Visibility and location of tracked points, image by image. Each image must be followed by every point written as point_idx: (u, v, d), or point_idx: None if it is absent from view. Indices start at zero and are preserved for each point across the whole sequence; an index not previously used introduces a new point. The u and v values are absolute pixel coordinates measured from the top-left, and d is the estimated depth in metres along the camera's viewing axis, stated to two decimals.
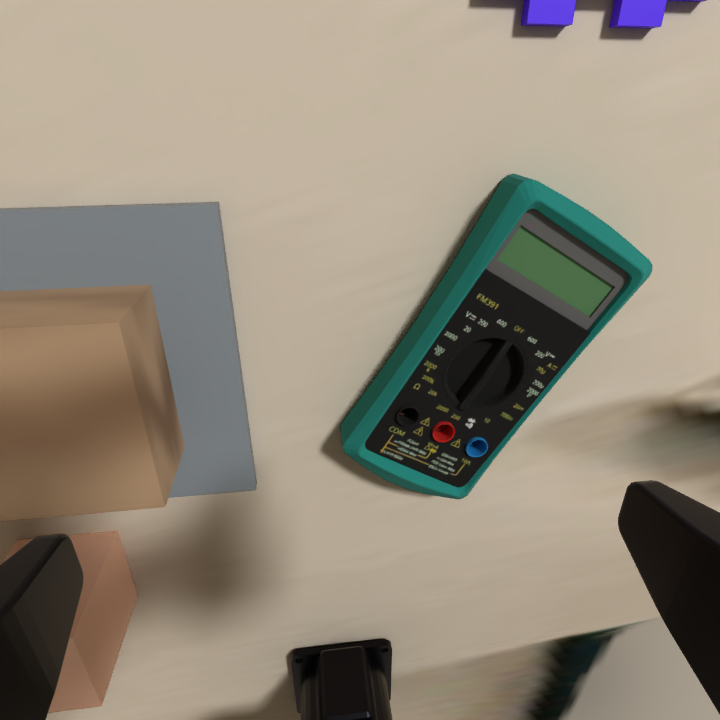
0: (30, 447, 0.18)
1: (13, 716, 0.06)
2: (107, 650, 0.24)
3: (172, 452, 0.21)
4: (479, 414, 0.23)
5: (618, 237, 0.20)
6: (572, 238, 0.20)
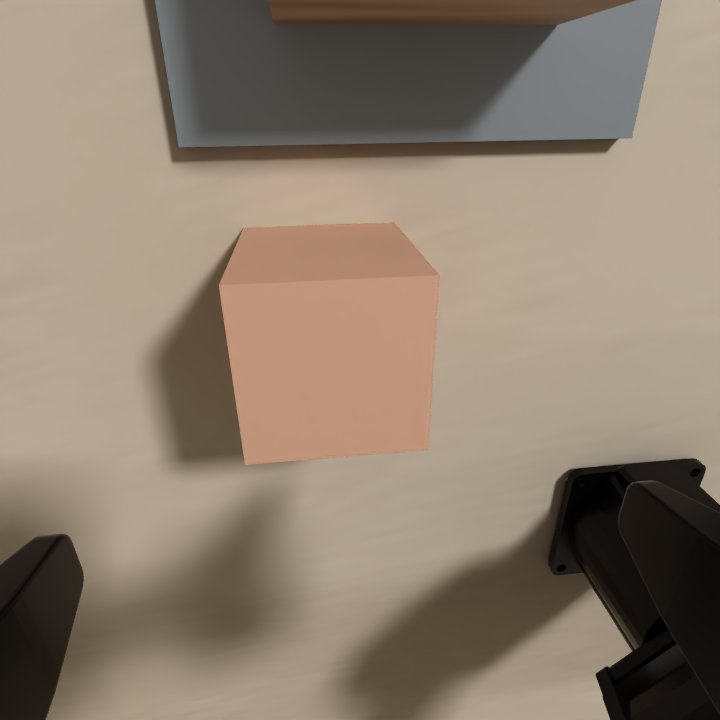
0: None
1: (13, 716, 0.06)
2: None
3: None
4: None
5: None
6: None
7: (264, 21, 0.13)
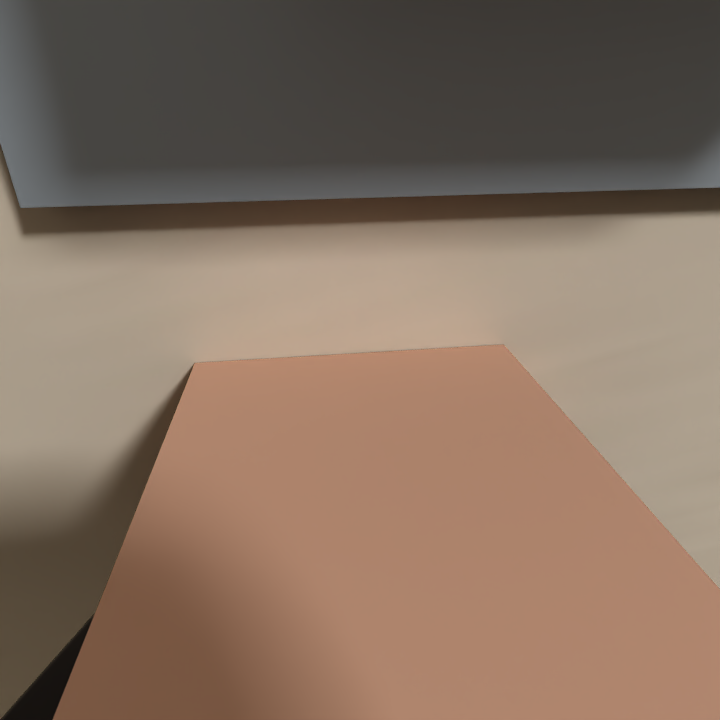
0: None
1: None
2: None
3: None
4: None
5: None
6: None
7: None
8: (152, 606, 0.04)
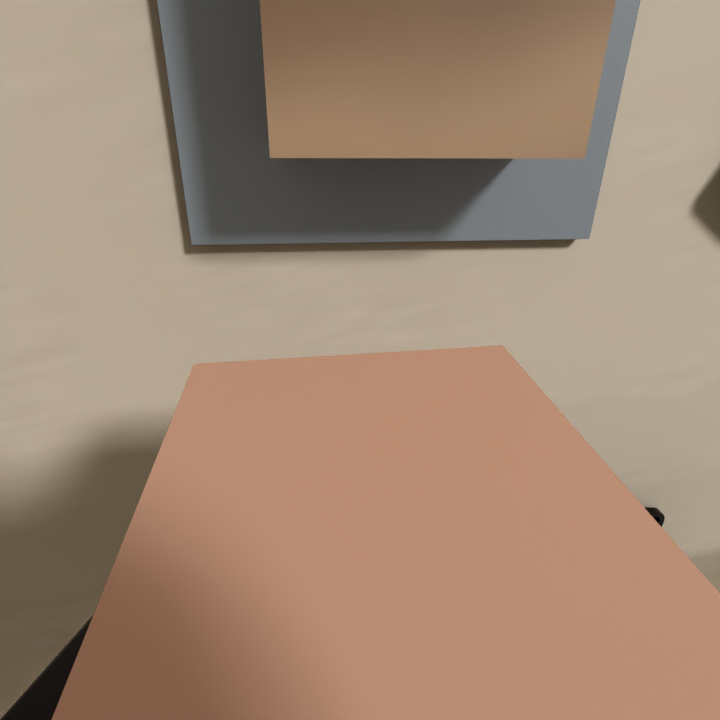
0: None
1: None
2: None
3: None
4: None
5: None
6: None
7: (268, 145, 0.15)
8: (151, 607, 0.04)
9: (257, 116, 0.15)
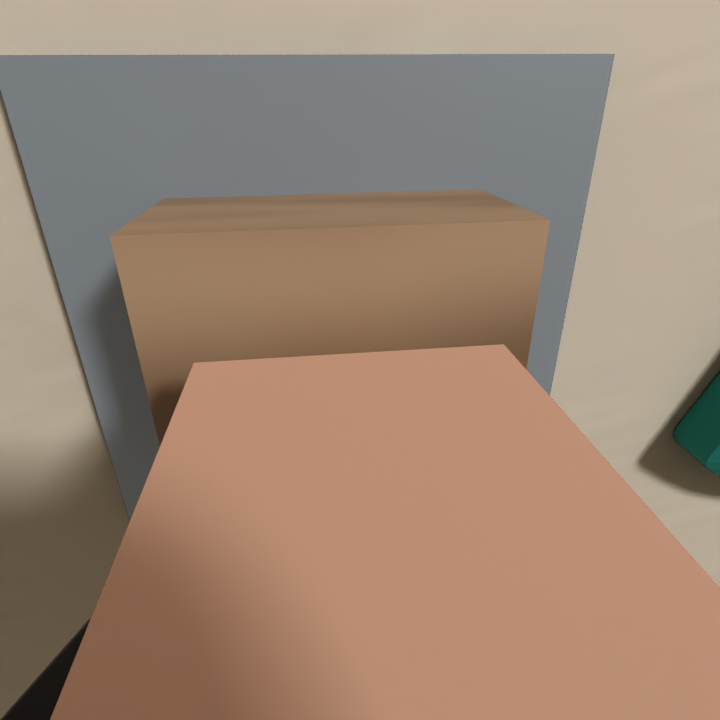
0: None
1: None
2: None
3: None
4: None
5: None
6: None
7: None
8: (150, 607, 0.04)
9: None
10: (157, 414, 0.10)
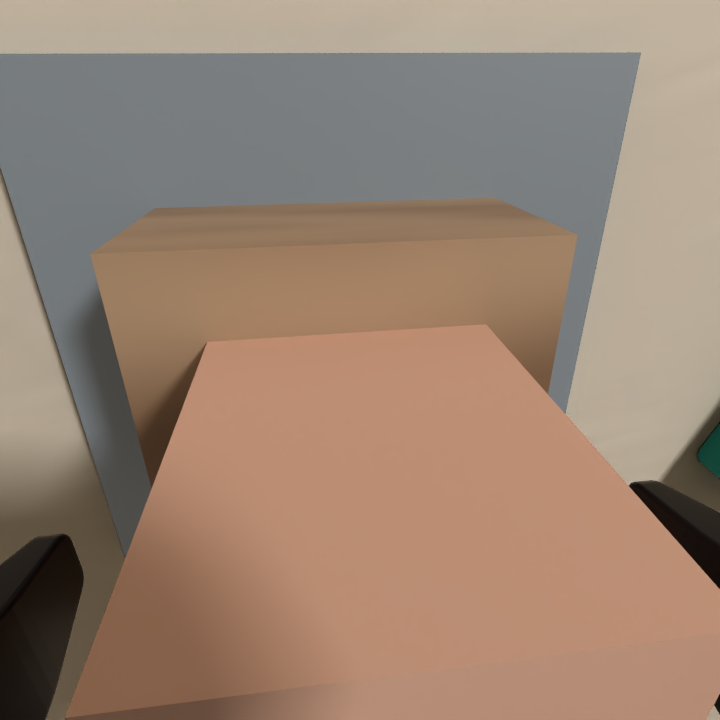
0: None
1: (13, 716, 0.06)
2: None
3: None
4: None
5: None
6: None
7: None
8: (182, 524, 0.05)
9: None
10: (146, 445, 0.09)
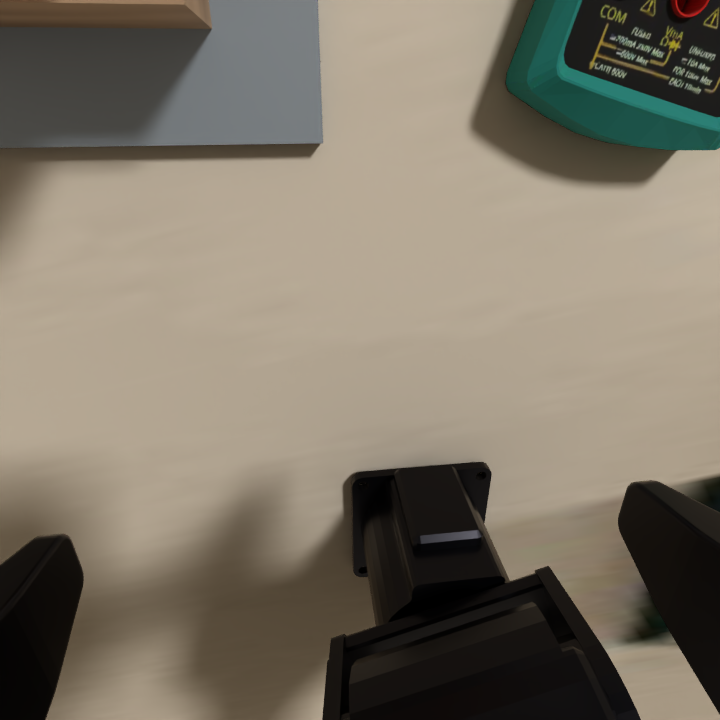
0: None
1: (13, 716, 0.06)
2: None
3: None
4: None
5: None
6: None
7: None
8: None
9: None
10: None
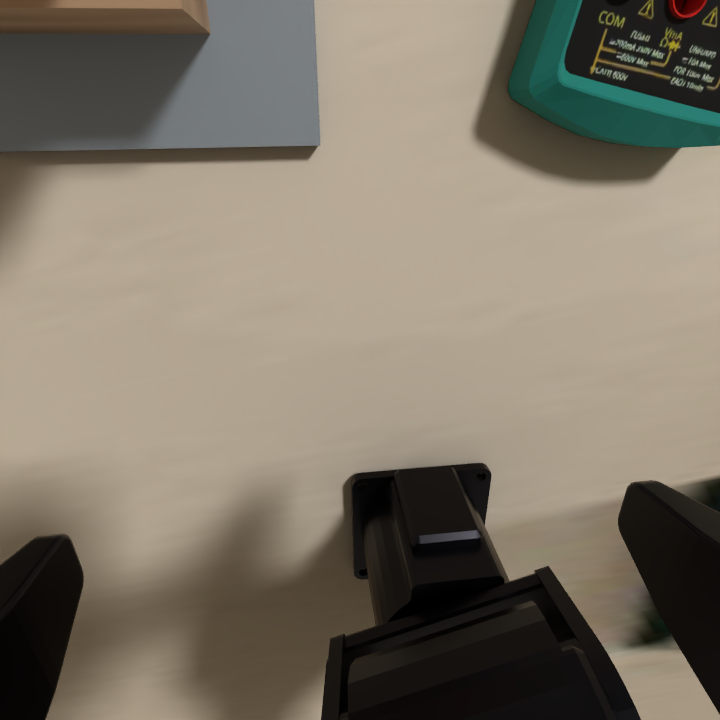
0: None
1: (13, 716, 0.06)
2: None
3: None
4: None
5: None
6: None
7: None
8: None
9: None
10: None
